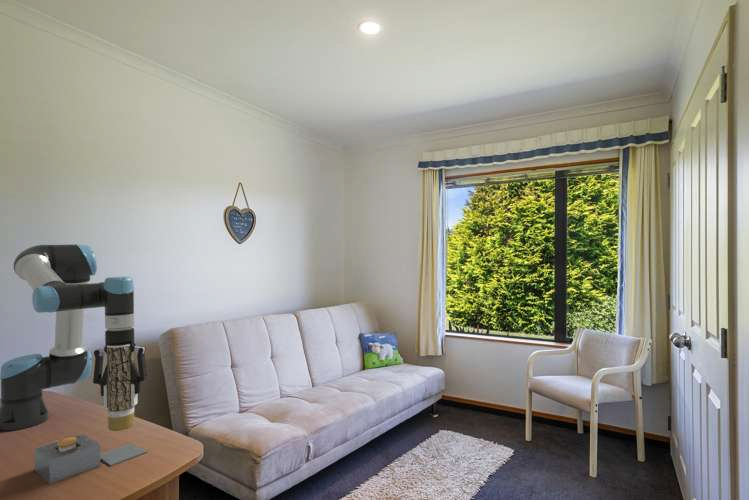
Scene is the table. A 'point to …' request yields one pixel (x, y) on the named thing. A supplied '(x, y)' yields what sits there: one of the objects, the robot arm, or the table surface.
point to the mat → (121, 454)
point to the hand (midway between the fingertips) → (121, 405)
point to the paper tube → (119, 387)
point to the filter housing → (66, 459)
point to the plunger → (67, 444)
